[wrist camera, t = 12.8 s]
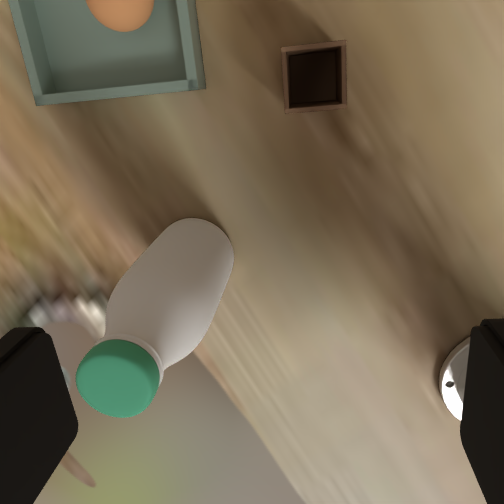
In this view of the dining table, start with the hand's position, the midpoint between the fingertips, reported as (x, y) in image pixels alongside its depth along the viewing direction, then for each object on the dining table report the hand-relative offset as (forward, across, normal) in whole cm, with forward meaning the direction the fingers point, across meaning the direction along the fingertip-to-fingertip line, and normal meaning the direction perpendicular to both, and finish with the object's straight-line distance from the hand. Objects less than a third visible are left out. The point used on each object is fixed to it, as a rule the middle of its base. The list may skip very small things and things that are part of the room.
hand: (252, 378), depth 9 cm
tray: (+30, +14, -13) cm, 36 cm away
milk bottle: (+31, +10, +9) cm, 33 cm away
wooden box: (+30, -2, -6) cm, 31 cm away
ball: (+27, +12, -13) cm, 32 cm away
